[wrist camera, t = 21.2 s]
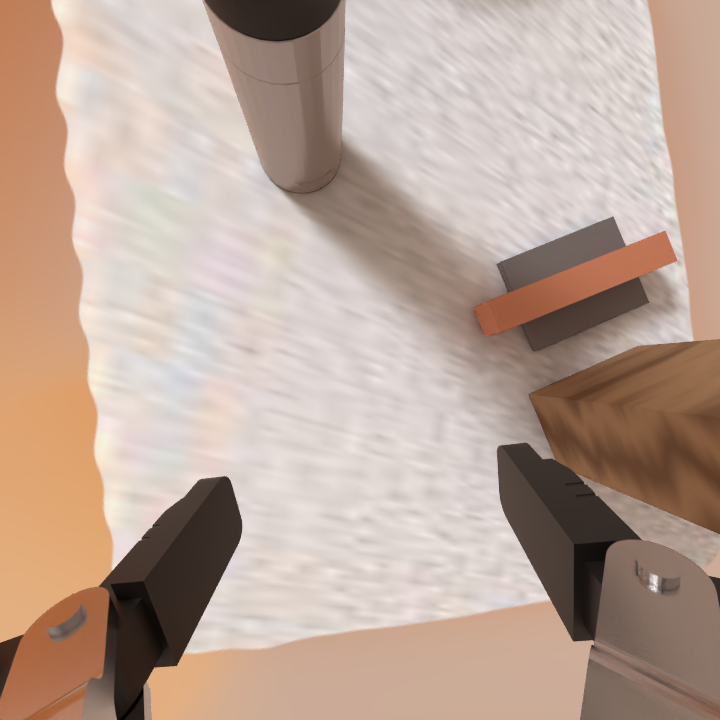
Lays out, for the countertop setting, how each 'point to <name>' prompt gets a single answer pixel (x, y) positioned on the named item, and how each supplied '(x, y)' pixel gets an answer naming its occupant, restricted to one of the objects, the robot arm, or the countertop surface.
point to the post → (644, 426)
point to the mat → (562, 258)
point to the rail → (574, 284)
